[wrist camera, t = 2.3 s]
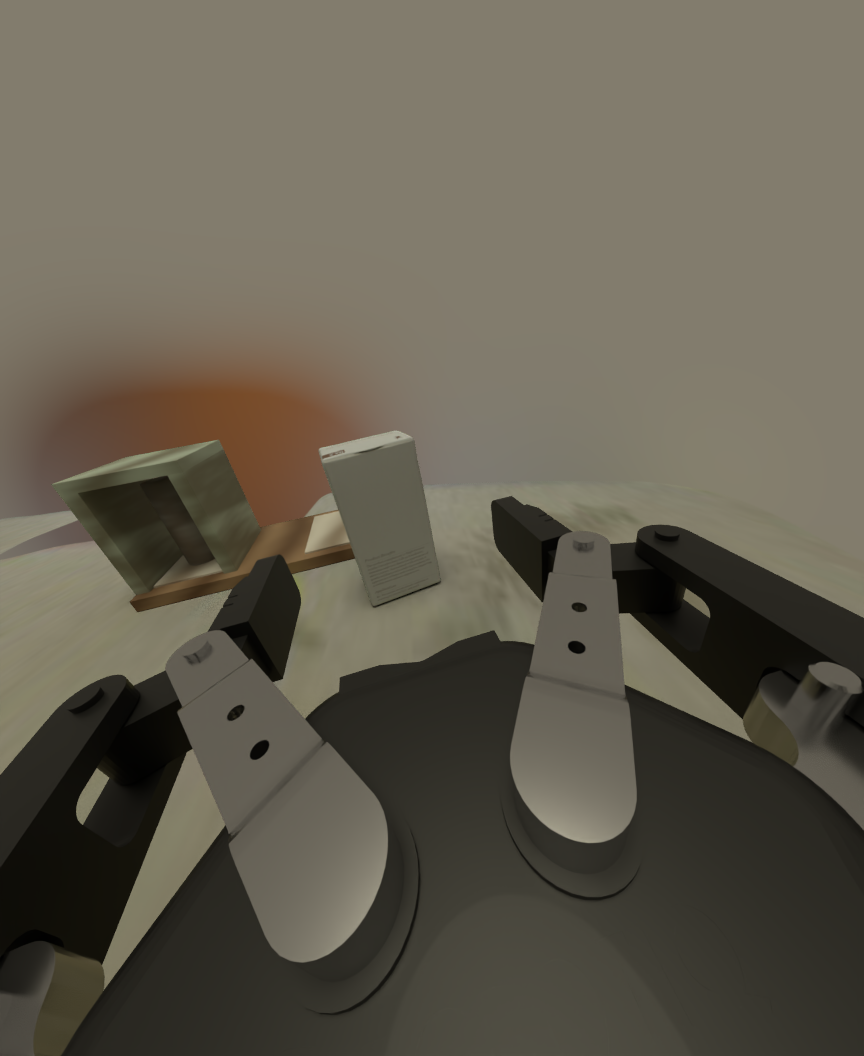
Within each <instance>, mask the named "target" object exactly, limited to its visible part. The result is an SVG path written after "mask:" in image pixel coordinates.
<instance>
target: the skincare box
mask: <svg viewBox="0 0 864 1056" xmlns="http://www.w3.org/2000/svg"><path fill="white" fill-rule="evenodd" d="M319 454H320V458H321V462H322V465H323V468H324V471H325V474H326V476H327V479H328V482H329V485H330V487H331V490H332V493H333V496H334V499H335V502H336V504H337V507H338V510H339V513H340V516H341V519H342V522H343V525H344V527H345V530H346V533H347V536H348V539H349V542H350V545H351V547H352V550H353V553H354V556H355V559H356V562H357V565H358V567H359V570H360V573H361V576H362V579H363V582H364V585H365V588H366V590H367V593H368V596H369V599H370V602H371V605H372V606H376V605H379V604H382V603H384V602H387V601H390V600H392V599H395V598H398V597H400V596H403V595H406V594H408V593H411V592H414V591H416V590H419V589H422V588H424V587H427V586H429V585H432V584H435V583H437V582H440V581H441V578H440V574H439V569H438V564H437V558H436V553H435V547H434V542H433V537H432V531H431V526H430V521H429V515H428V510H427V505H426V499H425V494H424V489H423V484H422V479H421V474H420V469H419V465H418V461H417V454H416V448H415V442H414V439H413V438H412V437H411V436H409V435H407V434H404V433H402V432H400V431H393V432H388V433H384V434H379V435H375V436H370V437H366V438H362V439H358V440H353V441H349V442H345V443H341V444H337V445H333V446H328V447H323V448H320V449H319Z"/></svg>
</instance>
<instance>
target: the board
mask: <svg viewBox="0 0 864 1056" xmlns="http://www.w3.org/2000/svg"><path fill="white" fill-rule="evenodd" d="M156 477H157V478H156ZM153 478H154V479H153ZM52 486H53V487H54V489H55V490H56V491H57V493H58V494H59V495H60V496H61V498H62V499H63V500H64V502H65V503H66V504H67V506H68V507H69V508H70V510H71V511H72V512H73V514H74V515H75V516H76V517H77V519H78V520H79V521H80V523H81V524H82V525H83V526H84V528H85V529H86V530H87V532H88V533H89V534H90V536H91V537H92V538H93V540H94V541H95V542H96V543H97V545H98V546H99V547H100V549H101V550H102V551H103V553H104V554H105V555H106V556H107V558H108V559H109V560H110V562H111V563H112V564H113V566H114V567H115V568H116V569H117V571H118V572H119V573H120V575H121V576H122V577H123V579H124V580H125V581H126V583H127V584H128V585H129V586H130V588H131V589H132V590H133V592H134V593H135V594H136V596H135V597H134V598H133V599H132V600H131V601H130V603H131V605H132V606H133V607H134V608H135V610H136V611H137V612H139V611H143V610H147V609H151V608H155V607H159V606H163V605H167V604H171V603H175V602H180V601H184V600H188V599H192V598H196V597H200V596H204V595H208V594H212V593H216V592H220V591H224V590H228V589H232V588H234V587H235V586H236V585H237V584H238V583H239V582H240V581H241V580H242V579H243V578H244V577H246V576H249V574H250V572H251V570H252V568H253V566H254V565H255V563H256V561H257V560H259V559H263V558H267V557H271V556H275V555H279V554H280V555H282V556H283V557H284V559H285V561H286V563H287V565H288V567H289V570H290V572H291V574H293V573H297V572H301V571H305V570H309V569H313V568H317V567H321V566H325V565H329V564H333V563H337V562H341V561H345V560H349V559H353V558H355V556H354V553H353V550H352V547H351V545H350V542H349V539H348V536H347V533H346V530H345V527H344V525H343V522H342V519H341V516H340V513H339V510H335V511H331V512H326V513H322V514H317V515H313V516H309V517H304V518H300V519H295V520H291V521H287V522H282V523H278V524H273V525H269V526H264V527H259V525H258V522H257V520H256V518H255V516H254V514H253V512H252V510H251V507H250V505H249V503H248V501H247V499H246V497H245V495H244V492H243V491H242V488H241V486H240V484H239V482H238V480H237V478H236V475H235V473H234V471H233V469H232V467H231V465H230V463H229V460H228V458H227V456H226V454H225V452H224V450H223V448H222V446H221V443H220V441H219V440H215V441H210V442H205V443H200V444H194V445H189V446H183V447H178V448H173V449H167V450H162V451H157V452H152V453H146V454H141V455H136V456H130V457H126V458H123V459H120V460H118V461H115V462H112V463H109V464H107V465H104V466H101V467H98V468H96V469H93V470H90V471H87V472H84V473H82V474H79V475H76V476H74V477H71V478H68V479H66V480H62V481H60V482H57V483H54V484H52Z"/></svg>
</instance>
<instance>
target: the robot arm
mask: <svg viewBox="0 0 864 1056" xmlns="http://www.w3.org/2000/svg"><path fill="white" fill-rule="evenodd" d="M491 511H492V522H493V533H494V540H495V544H496V546H497V548H498V550H499V552H500V553H501V554H502V555H503V556H504V558H505V559H506V560H507V561H508V562H509V564H510V565H511V566H512V567H513V568H514V569H515V571H516V572H517V573H518V574H519V575H520V577H521V578H522V579H523V580H524V581H525V583H526V584H527V585H528V586H529V587H530V589H531V590H532V591H533V592H534V593H535V595H536V596H537V597H538V598H539V599H540V600H541V602H543V606H542V611H541V616H540V621H539V626H538V631H537V636H536V641H535V645H533V644H528V643H524V642H516V641H500V640H499V638H498V636H497V635H496V633H495V631H494V630H493V631H490V632H487V633H483V634H480V635H477V636H474V637H470V638H467V639H464V640H461V641H458V642H456V643H454V644H452V645H450V646H449V647H447V648H445V649H443V650H442V651H440V652H438V653H436V654H434V655H433V656H431V657H429V658H427V659H425V660H423V661H420V662H412V663H400V664H389V665H379V666H376V667H372V668H369V669H366V670H362V671H359V672H356V673H353V674H349V675H346V676H343V677H340V688H339V692H338V693H336V694H334V695H333V696H331V697H330V698H328V699H327V700H325V701H324V702H323V703H322V704H320V705H319V706H318V707H317V708H316V709H315V710H314V711H312V712H311V713H310V714H309V715H308V716H307V717H306V719H304V718H303V717H302V715H301V714H300V713H299V712H298V711H297V710H296V709H295V707H294V706H293V705H292V704H291V703H290V702H289V701H288V699H287V698H286V697H285V696H284V695H283V694H282V693H281V691H280V690H279V689H278V688H277V687H276V686H275V684H274V683H273V682H275V681H278V680H281V679H283V676H284V672H285V668H286V663H287V659H288V655H289V651H290V647H291V643H292V639H293V635H294V630H295V626H296V622H297V618H298V614H299V610H300V606H301V597H300V592H299V589H298V587H297V585H296V583H295V580H294V578H293V576H292V574H291V572H290V570H289V567H288V565H287V563H286V561H285V559H284V557H283V556H282V555H280V554H279V555H275V556H271V557H267V558H263V559H259V560H257V561H256V563H255V565H254V566H253V568H252V570H251V572H250V574H249V576H246V577H244V578H243V579H242V580H241V581H240V582H239V583H238V584H237V585H236V586H235V587H234V588H233V589H232V591H231V593H230V595H229V596H228V599H227V600H226V601H225V603H224V605H223V608H221V610H220V612H219V613H218V615H217V617H216V618H215V620H214V622H213V624H212V625H211V627H210V629H209V630H208V632H206V633H203V634H201V635H199V636H197V637H195V638H193V639H191V640H189V641H188V642H186V643H185V644H184V645H182V646H181V647H180V648H179V649H177V650H176V651H175V652H174V653H173V654H172V656H171V657H170V658H169V660H168V661H167V664H166V667H165V669H166V671H164V672H161V673H159V674H157V675H155V676H153V677H151V678H149V679H147V680H145V681H143V682H140V683H138V684H136V685H134V686H133V685H132V684H131V683H130V682H129V680H128V679H127V678H126V677H125V676H123V675H112V676H109V677H106V678H103V679H100V680H98V681H96V682H94V683H92V684H90V685H88V686H86V687H85V688H83V689H81V690H80V691H78V692H77V693H75V694H74V695H73V696H71V697H70V698H69V699H67V700H66V701H65V702H64V703H63V704H62V705H61V706H59V707H58V708H57V709H56V711H55V712H54V713H53V714H52V715H51V716H50V717H49V719H48V720H47V721H46V722H45V723H44V724H43V726H42V727H41V728H40V729H39V730H38V731H37V733H36V734H35V735H34V736H33V737H32V738H31V740H30V741H29V742H28V743H27V744H26V746H25V747H24V748H23V749H22V750H21V751H20V753H19V754H18V755H17V756H16V757H15V758H14V760H13V761H12V762H11V763H10V764H9V765H8V767H7V768H6V769H5V770H4V771H3V773H2V774H1V775H0V1056H864V618H863V617H861V616H859V615H857V614H855V613H853V612H851V611H849V610H847V609H845V608H843V607H841V606H839V605H837V604H835V603H832V602H830V601H828V600H826V599H824V598H822V597H820V596H818V595H816V594H814V593H812V592H810V591H808V590H806V589H804V588H802V587H800V586H798V585H796V584H794V583H792V582H790V581H788V580H786V579H784V578H782V577H780V576H778V575H776V574H774V573H772V572H770V571H768V570H766V569H764V568H762V567H760V566H758V565H756V564H754V563H752V562H750V561H748V560H746V559H744V558H742V557H740V556H738V555H736V554H734V553H732V552H730V551H728V550H726V549H724V548H722V547H720V546H718V545H716V544H714V543H712V542H710V541H708V540H706V539H704V538H702V537H700V536H698V535H696V534H694V533H692V532H690V531H688V530H685V529H683V528H679V527H676V526H670V525H650V526H646V527H643V528H641V529H640V530H639V531H638V533H637V539H636V542H634V543H620V544H610V542H609V540H608V539H607V538H605V537H604V536H602V535H600V534H597V533H593V532H587V531H575V532H572V531H571V530H569V529H568V528H566V527H565V526H564V525H562V524H561V523H559V522H558V521H556V520H554V519H553V518H552V517H551V516H549V515H547V514H546V513H545V512H544V511H542V510H541V509H539V508H537V507H533V506H530V505H523V504H521V503H520V502H519V501H517V500H516V499H515V498H513V497H512V496H509V497H505V498H502V499H498V500H494V501H492V503H491ZM686 588H687V589H688V590H690V591H691V592H693V593H694V594H696V595H697V596H698V597H700V598H701V599H702V600H703V601H704V602H705V603H706V605H707V606H708V608H709V611H710V618H709V617H707V616H706V615H704V614H703V613H702V612H700V611H699V610H698V609H696V608H695V607H693V606H692V605H691V604H689V603H688V602H687V601H685V600H684V599H683V597H684V593H685V590H686ZM619 613H630V614H631V615H632V616H633V617H634V618H635V619H636V620H637V621H638V622H640V623H641V624H642V625H643V626H644V627H645V628H646V629H647V630H648V631H649V632H650V633H651V634H652V635H653V636H654V637H655V638H657V639H658V640H659V641H660V642H661V643H662V644H663V645H664V646H665V647H666V648H667V649H668V650H669V651H670V652H671V653H673V654H674V655H675V656H676V657H677V658H678V659H679V660H680V661H681V662H682V663H683V664H684V665H685V666H686V667H687V668H689V669H690V670H691V671H692V672H693V673H694V674H695V675H696V676H697V677H698V678H699V679H700V680H701V681H702V682H703V683H704V684H706V685H707V686H708V687H709V688H710V689H711V690H712V691H713V692H714V693H715V694H716V695H717V696H718V697H719V698H720V699H722V700H723V701H724V702H725V703H726V704H727V705H728V706H729V707H730V708H731V709H732V710H733V711H734V712H735V713H736V714H737V715H739V716H740V717H741V718H742V719H743V725H744V728H745V731H746V733H747V735H748V737H749V738H750V740H751V741H752V742H753V743H752V742H750V741H748V740H745V739H743V738H741V737H739V736H737V735H734V734H732V733H730V732H728V731H726V730H723V729H721V728H719V727H717V726H715V725H712V724H710V723H708V722H706V721H704V720H701V719H699V718H697V717H695V716H693V715H690V714H688V713H686V712H684V711H682V710H679V709H677V708H675V707H673V706H671V705H668V704H666V703H664V702H662V701H660V700H657V699H655V698H653V697H651V696H649V695H646V694H644V693H642V692H640V691H638V690H635V689H633V688H631V687H629V686H627V685H624V674H623V661H622V648H621V635H620V622H619ZM191 749H193V750H194V753H195V755H196V757H197V760H198V762H199V764H200V767H201V769H202V771H203V774H204V776H205V778H206V781H207V783H208V785H209V787H210V790H211V792H212V794H213V797H214V799H215V801H216V804H217V806H218V808H219V811H220V813H221V815H222V818H223V820H224V822H225V827H224V828H223V829H222V831H221V832H220V834H219V835H218V836H217V838H216V839H215V840H214V842H213V843H212V844H211V846H210V847H209V848H208V850H207V851H206V853H205V854H204V855H203V857H202V858H201V859H200V861H199V862H198V863H197V865H196V866H195V867H194V869H193V870H192V872H191V873H190V874H189V876H188V877H187V878H186V880H185V881H184V882H183V884H182V885H181V886H180V888H179V889H178V891H177V892H176V893H175V895H174V896H173V897H172V899H171V900H170V901H169V903H168V904H167V905H166V907H165V908H164V910H163V911H162V912H161V914H160V915H159V916H158V918H157V919H156V920H155V922H154V923H153V924H152V926H151V927H150V929H149V930H148V931H147V933H146V934H145V935H144V937H143V938H142V939H141V941H140V942H139V943H138V945H137V946H136V948H135V949H134V950H133V952H132V953H131V954H130V956H129V957H128V958H127V960H126V961H125V962H124V964H123V965H122V966H121V968H120V969H119V971H118V972H117V973H116V975H115V976H114V977H113V979H112V980H111V981H110V983H109V984H108V985H107V987H106V988H105V990H104V979H105V976H104V970H103V967H102V964H103V961H104V959H105V956H106V954H107V951H108V949H109V946H110V944H111V941H112V939H113V936H114V934H115V931H116V929H117V926H118V924H119V921H120V919H121V916H122V914H123V911H124V909H125V906H126V904H127V901H128V899H129V896H130V894H131V891H132V889H133V886H134V884H135V881H136V879H137V876H138V874H139V871H140V869H141V866H142V863H143V861H144V858H145V856H146V853H147V851H148V848H149V846H150V843H151V841H152V838H153V836H154V833H155V831H156V828H157V826H158V823H159V821H160V818H161V816H162V813H163V811H164V808H165V806H166V803H167V801H168V798H169V796H170V793H171V791H172V788H173V786H174V783H175V781H176V778H177V776H178V773H179V771H180V768H181V766H182V763H183V761H184V758H185V756H186V752H188V751H190V750H191ZM96 768H98V769H99V770H100V771H102V772H103V773H104V774H105V775H107V776H108V777H109V780H108V782H107V784H106V785H105V787H104V789H103V791H102V792H101V794H100V796H99V798H98V799H97V801H96V803H95V805H94V806H93V808H92V810H91V812H90V813H89V815H88V817H87V819H86V820H85V822H84V824H83V825H82V824H81V823H80V822H79V821H78V819H77V816H76V806H77V802H78V799H79V796H80V794H81V792H82V791H83V789H84V788H85V786H86V784H87V783H88V781H89V779H90V778H91V776H92V775H93V773H94V771H95V770H96ZM103 990H104V991H103Z"/></svg>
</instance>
